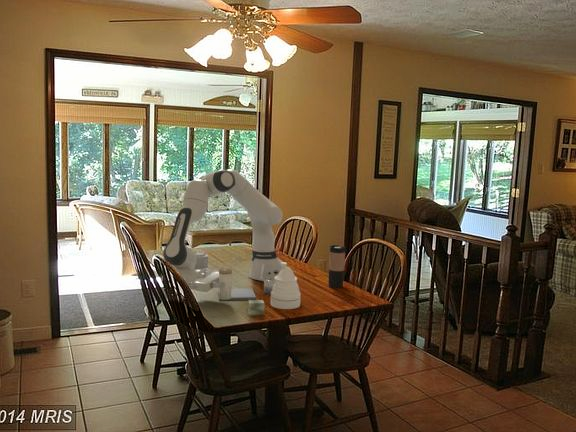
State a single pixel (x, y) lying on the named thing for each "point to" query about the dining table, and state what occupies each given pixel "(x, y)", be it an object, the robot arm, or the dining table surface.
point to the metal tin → (268, 285)
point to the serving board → (242, 294)
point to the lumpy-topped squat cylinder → (201, 260)
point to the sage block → (256, 307)
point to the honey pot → (285, 290)
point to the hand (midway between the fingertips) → (227, 283)
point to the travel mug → (336, 266)
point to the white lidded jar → (225, 277)
